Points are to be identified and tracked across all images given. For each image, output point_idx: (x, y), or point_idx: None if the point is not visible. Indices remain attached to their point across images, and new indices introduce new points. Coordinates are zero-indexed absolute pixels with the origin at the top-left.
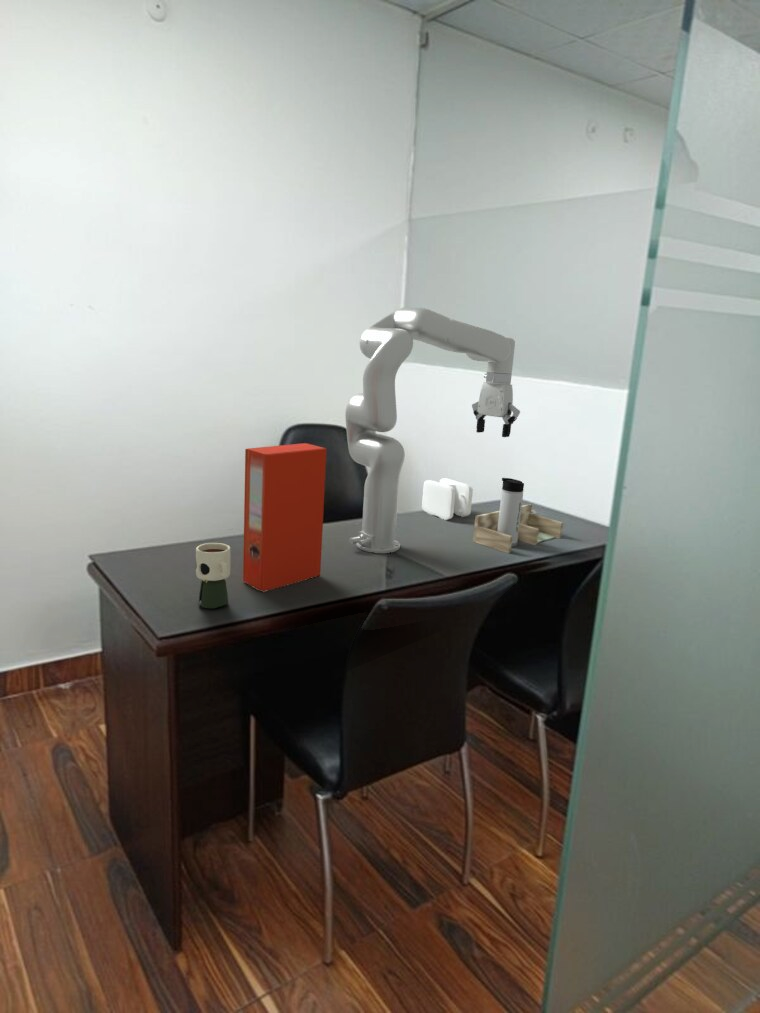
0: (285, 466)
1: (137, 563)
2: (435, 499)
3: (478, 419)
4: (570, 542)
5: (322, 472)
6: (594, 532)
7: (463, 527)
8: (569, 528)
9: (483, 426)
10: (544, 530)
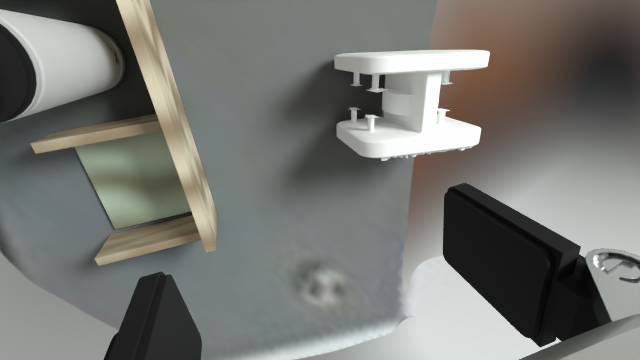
0: None
1: None
2: (409, 51)
3: (582, 270)
4: (67, 237)
5: None
6: None
7: (275, 57)
8: None
9: (476, 277)
10: (156, 227)
